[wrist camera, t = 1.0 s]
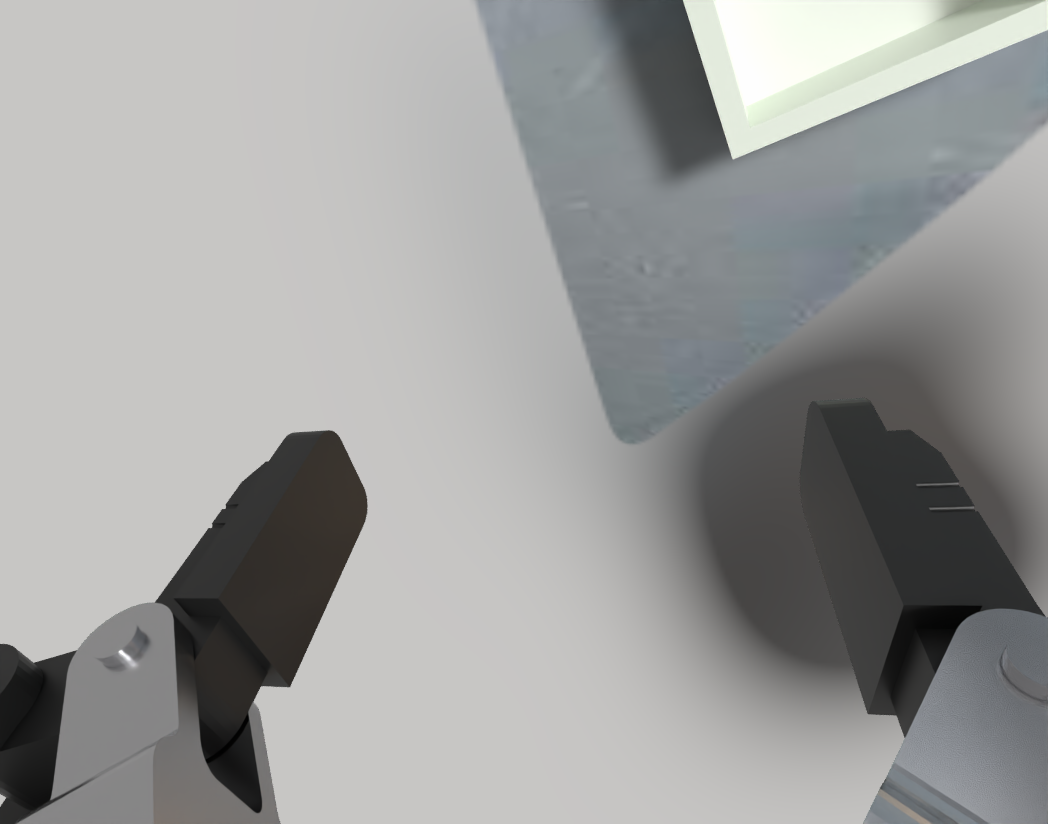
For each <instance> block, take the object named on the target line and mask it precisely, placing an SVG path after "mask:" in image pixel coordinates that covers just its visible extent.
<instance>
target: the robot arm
mask: <svg viewBox="0 0 1048 824" xmlns="http://www.w3.org/2000/svg"><path fill="white" fill-rule="evenodd" d="M800 496H801V503H802V508H803V512H804V516H805V519H806V522H807V525H808V528H809V532H810V535H811V538H812V541H813V544H814V547H815V550H816V553H817V556H818V560H819V563H820V566H821V569H822V572H823V575H824V578H825V582H826V584H827V588H828V591H829V594H830V597H831V600H832V604H833V607H834V610H835V613H836V616H837V619H838V622H839V625H840V628H841V632H842V635H843V638H844V641H845V644H846V647H847V651H848V654H849V656H850V660H851V663H852V666H853V669H854V672H855V675H856V679H857V682H858V685H859V688H860V691H861V694H862V697H863V701H864V703H865V707H866V710H867V713H868V714H876V715H897V717H898V720H899V723H900V726H901V729H902V732H903V734H904V737H905V739H904V741H903V744H902V746H901V748H900V750H899V752H898V754H897V756H896V758H895V760H894V763H893V765H892V767H891V769H890V771H889V773H888V775H887V777H886V779H885V781H884V783H883V784H882V786H881V788H880V789H879V791H878V794H877V796H876V798H875V800H874V802H873V804H872V806H871V808H870V810H869V812H868V814H867V816H866V818H865V820H864V822H863V824H1048V617H1046V616H1045V615H1044V614H1043V612H1042V611H1041V609H1040V608H1039V607H1038V605H1037V604H1036V602H1035V601H1034V599H1033V597H1032V596H1031V594H1030V593H1029V591H1028V590H1027V588H1026V586H1025V585H1024V583H1023V582H1022V580H1021V578H1020V577H1019V575H1018V574H1017V572H1016V571H1015V569H1014V567H1013V566H1012V564H1011V563H1010V561H1009V559H1008V558H1007V556H1006V555H1005V553H1004V552H1003V550H1002V548H1001V547H1000V545H999V544H998V542H997V540H996V539H995V537H994V536H993V534H992V533H991V531H990V529H989V528H988V526H987V525H986V523H985V521H984V520H983V518H982V517H981V515H980V514H979V512H975V510H974V504H973V502H972V501H971V499H970V498H969V496H968V495H967V493H966V492H965V490H964V488H963V487H960V486H959V480H958V479H957V477H956V476H955V474H954V472H953V471H952V469H951V468H950V466H949V465H948V463H947V461H946V460H945V458H944V457H943V455H942V453H941V452H939V451H938V450H937V449H935V448H934V447H933V446H931V445H930V444H928V443H927V442H926V441H924V440H923V439H922V438H920V437H919V436H918V435H916V434H915V433H914V432H912V431H911V430H896V431H887V430H886V428H885V426H884V425H883V423H882V421H881V419H880V417H879V416H878V414H877V412H876V410H875V408H874V406H873V405H872V403H871V402H870V401H869V400H868V399H867V398H856V399H842V400H841V399H840V400H825V401H812V402H811V404H810V405H809V408H808V413H807V421H806V429H805V437H804V445H803V452H802V460H801V469H800ZM366 515H367V496H366V492H365V489H364V487H363V485H362V483H361V481H360V479H359V476H358V474H357V472H356V470H355V468H354V466H353V464H352V462H351V460H350V458H349V456H348V453H347V451H346V449H345V447H344V445H343V443H342V441H341V439H340V437H339V436H338V435H337V434H336V433H335V432H333V431H329V430H328V431H314V432H313V431H312V432H297V433H291V434H289V435H288V436H286V438H285V439H284V440H283V442H282V443H281V445H280V446H279V447H278V449H277V450H276V452H275V453H274V455H273V456H272V457H271V459H270V460H269V462H265V463H264V464H263V465H261V467H259V468H258V469H257V470H256V471H254V472H253V473H252V474H251V475H250V476H249V477H247V478H246V479H245V480H244V481H242V483H241V484H240V485H239V487H238V488H237V490H236V491H235V492H234V494H233V495H232V496H231V498H230V499H229V501H228V502H227V503H226V509H222V510H221V512H220V513H219V514H218V516H217V517H216V519H215V520H214V521H213V523H212V525H213V526H212V528H208V530H207V531H206V533H205V534H204V536H203V537H202V538H201V539H200V541H199V542H198V544H197V545H196V546H195V548H194V549H193V551H192V552H191V553H190V555H189V556H188V558H187V559H186V560H185V562H184V563H183V565H182V566H181V567H180V569H179V570H178V571H177V573H176V574H175V576H174V577H173V578H172V580H171V581H170V583H169V584H168V585H167V587H166V588H165V589H164V591H163V592H162V594H161V595H160V596H159V598H158V599H157V600H156V602H155V603H145V604H140V605H136V606H133V607H131V608H128V609H126V610H124V611H122V612H120V613H118V614H116V615H114V616H113V617H111V618H110V619H109V620H107V621H105V622H104V623H103V624H102V625H101V626H99V627H98V628H97V629H96V630H95V631H94V632H92V633H91V634H90V635H89V636H88V637H87V639H86V640H85V641H84V642H83V643H82V645H81V646H80V647H79V649H78V650H76V651H73V652H70V653H66V654H63V655H59V656H56V657H53V658H49V659H46V660H42V661H39V662H35V663H33V662H32V661H30V660H29V659H28V658H27V657H25V656H24V655H23V654H22V653H20V652H19V651H18V650H17V649H16V648H14V647H13V646H11V645H8V644H0V794H1V795H3V796H5V797H6V799H5V801H4V802H3V804H2V805H1V807H0V824H281V823H280V821H279V817H278V812H277V808H276V801H275V795H274V790H273V785H272V779H271V773H270V767H269V761H268V756H267V750H266V745H265V739H264V733H263V728H262V722H261V716H260V712H259V709H258V707H257V706H256V704H255V703H254V702H253V701H254V699H255V697H256V695H257V693H258V691H259V689H260V687H261V686H274V687H290V686H291V684H292V681H293V679H294V677H295V675H296V673H297V670H298V668H299V666H300V664H301V662H302V659H303V657H304V655H305V653H306V651H307V648H308V646H309V644H310V642H311V640H312V637H313V635H314V633H315V631H316V628H317V626H318V624H319V622H320V620H321V617H322V615H323V613H324V611H325V609H326V606H327V604H328V602H329V600H330V598H331V595H332V593H333V591H334V589H335V587H336V585H337V582H338V580H339V578H340V576H341V573H342V571H343V569H344V567H345V564H346V563H347V560H348V558H349V556H350V554H351V552H352V549H353V547H354V545H355V543H356V541H357V538H358V536H359V534H360V532H361V530H362V527H363V525H364V522H365V519H366Z"/></svg>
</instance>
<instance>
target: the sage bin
mask: <svg viewBox="0 0 1048 824" xmlns="http://www.w3.org/2000/svg"><path fill="white" fill-rule="evenodd" d="M683 2H684V5H685V8H686V11H687V15H688V18H689V21H690V24H691V27H692V31H693V34H694V37H695V40H696V43H697V47H698V50H699V53H700V56H701V59H702V63H703V66H704V69H705V72H706V75H707V79H708V82H709V85H710V88H711V91H712V95H713V98H714V101H715V104H716V107H717V111H718V114H719V117H720V120H721V123H722V127H723V130H724V133H725V136H726V139H727V143H728V146H729V149H730V152H731V156H732V159H735V158H738V157H740V156H742V155H745V154H747V153H750V152H752V151H755V150H757V149H759V148H762V147H764V146H767V145H769V144H772V143H774V142H776V141H779V140H781V139H784V138H786V137H789V136H791V135H793V134H796V133H798V132H801V131H803V130H806V129H808V128H810V127H813V126H815V125H818V124H820V123H823V122H825V121H827V120H830V119H832V118H835V117H837V116H840V115H842V114H844V113H847V112H849V111H852V110H854V109H857V108H859V107H861V106H864V105H866V104H869V103H871V102H874V101H876V100H878V99H881V98H883V97H886V96H888V95H891V94H893V93H895V92H898V91H900V90H903V89H905V88H908V87H910V86H912V85H915V84H917V83H920V82H922V81H925V80H927V79H929V78H932V77H934V76H937V75H939V74H942V73H944V72H946V71H949V70H951V69H954V68H956V67H959V66H961V65H963V64H966V63H968V62H971V61H973V60H976V59H978V58H980V57H983V56H985V55H988V54H990V53H993V52H995V51H997V50H1000V49H1002V48H1005V47H1007V46H1010V45H1012V44H1014V43H1017V42H1019V41H1022V40H1024V39H1027V38H1029V37H1031V36H1034V35H1036V34H1039V33H1041V32H1044V31H1046V30H1048V0H683Z"/></svg>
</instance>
